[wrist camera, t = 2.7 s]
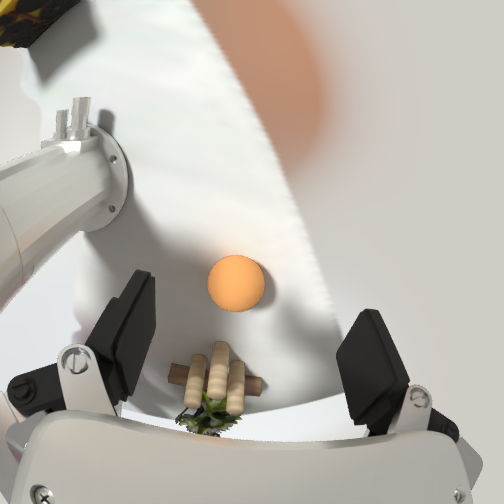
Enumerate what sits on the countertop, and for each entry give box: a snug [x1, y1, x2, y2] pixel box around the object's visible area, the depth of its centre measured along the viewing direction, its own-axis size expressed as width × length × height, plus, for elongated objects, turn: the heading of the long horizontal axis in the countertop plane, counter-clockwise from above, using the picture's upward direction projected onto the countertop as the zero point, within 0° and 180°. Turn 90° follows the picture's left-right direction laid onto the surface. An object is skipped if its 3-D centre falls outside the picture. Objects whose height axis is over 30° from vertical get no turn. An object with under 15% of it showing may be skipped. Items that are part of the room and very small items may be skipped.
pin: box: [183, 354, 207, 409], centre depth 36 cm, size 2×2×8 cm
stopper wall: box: [168, 364, 262, 396], centre depth 40 cm, size 2×15×3 cm, turn 78°
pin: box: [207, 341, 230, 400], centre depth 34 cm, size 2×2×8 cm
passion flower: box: [175, 390, 242, 437], centre depth 42 cm, size 11×11×12 cm
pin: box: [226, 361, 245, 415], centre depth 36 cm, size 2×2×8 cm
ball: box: [208, 255, 265, 312], centre depth 29 cm, size 6×6×6 cm
